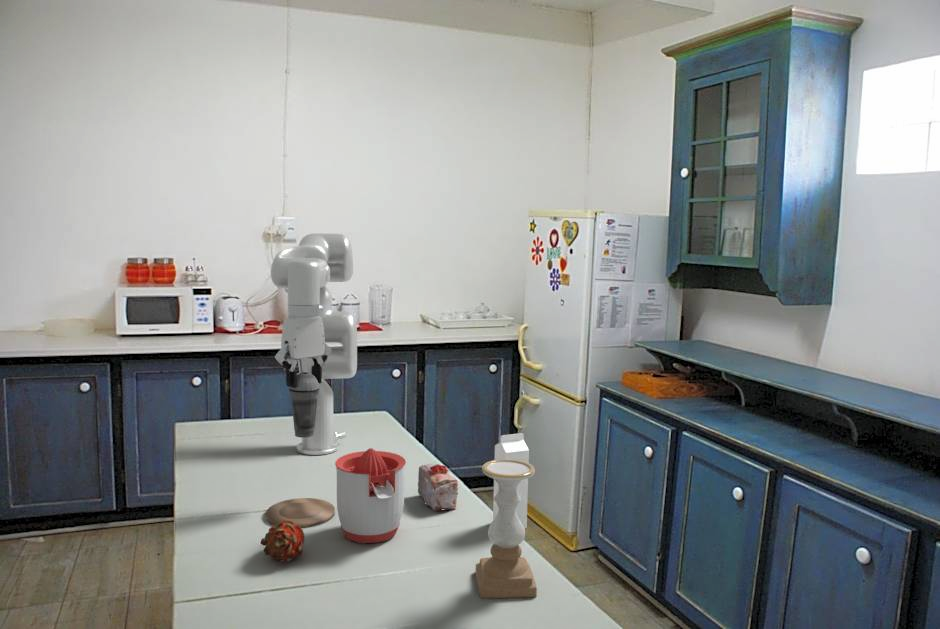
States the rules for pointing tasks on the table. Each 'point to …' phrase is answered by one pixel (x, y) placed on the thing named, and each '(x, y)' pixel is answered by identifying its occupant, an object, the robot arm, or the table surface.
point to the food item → (437, 487)
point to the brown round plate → (301, 512)
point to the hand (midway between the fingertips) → (304, 384)
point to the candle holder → (506, 537)
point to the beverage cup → (304, 403)
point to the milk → (516, 450)
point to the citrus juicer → (370, 494)
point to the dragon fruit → (284, 541)
